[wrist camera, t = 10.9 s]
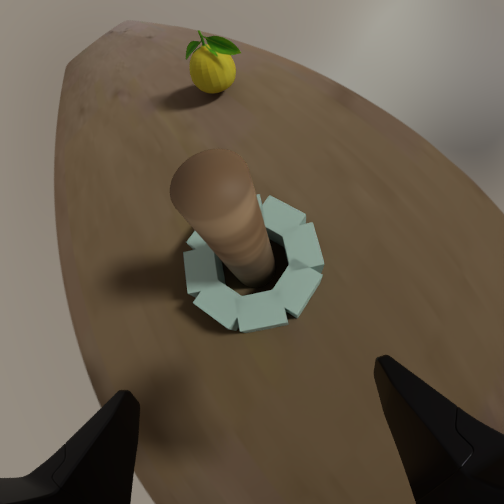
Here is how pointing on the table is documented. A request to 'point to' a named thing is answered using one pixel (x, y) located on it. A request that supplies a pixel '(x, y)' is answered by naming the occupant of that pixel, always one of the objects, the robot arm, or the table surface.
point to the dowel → (225, 213)
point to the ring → (268, 302)
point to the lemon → (212, 63)
